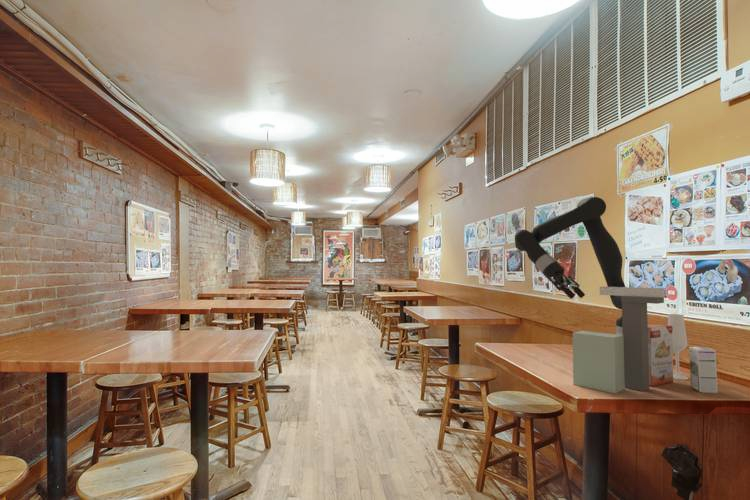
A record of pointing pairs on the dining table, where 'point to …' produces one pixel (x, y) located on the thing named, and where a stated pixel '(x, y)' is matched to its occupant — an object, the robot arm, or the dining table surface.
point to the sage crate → (598, 361)
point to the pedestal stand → (636, 340)
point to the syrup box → (703, 369)
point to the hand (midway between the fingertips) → (578, 296)
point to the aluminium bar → (633, 291)
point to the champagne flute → (678, 340)
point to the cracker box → (660, 354)
